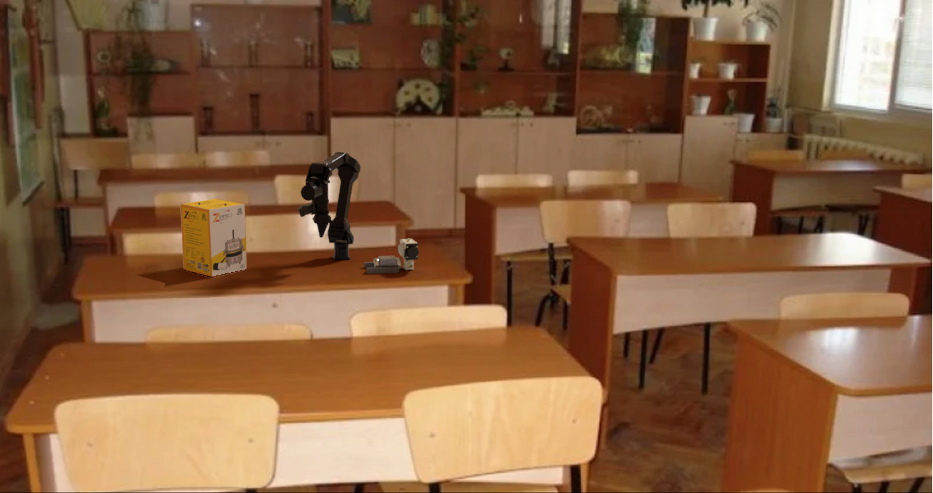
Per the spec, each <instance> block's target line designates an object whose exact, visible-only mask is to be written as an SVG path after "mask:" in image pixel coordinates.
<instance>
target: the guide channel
mask: <svg viewBox="0 0 933 493" xmlns="http://www.w3.org/2000/svg"><path fill="white" fill-rule="evenodd" d="M363 269H366V274H367V275H368V274H369V275H373V274H391V273H393V274H394V273H395V274H396V273H397V274H398V273H400V269H399V267H374V266H373V261H369V262H364V263H363Z"/></svg>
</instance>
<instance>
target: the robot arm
mask: <svg viewBox="0 0 933 493" xmlns="http://www.w3.org/2000/svg"><path fill="white" fill-rule="evenodd" d="M335 170H337V175H338V178H339V181H340V184H339V189H338V190H339V192H338V197H337V204H336V210H335V216H334V217H333V219H332V216H331V215H330V210H329V204H330V199H329V184H330V183H331V181H330V177H331V176H332V175H333V171H335ZM360 172H361V164H360V163H359V162H358V160H357V159H356V158H354V157H353V156H351V155H350V154H349V153H348V152H345V151H344V152H343V151H337V152H335V153H334V154H333V155H331V156H330V157H328V158H326V159H325V160H322V161H314V162H312V163H311V164H310V165H309V168H308V171H307V174H306V176H305V185H303V186H302V188H301V190H300V196H301V198H303V200H304V201H308V202H309V201H311V202H309V203H306V204H303V205H300V206H298V207H297V210H298V213H299V215H300V217H301V218H303V217H305V216H307V215H311V216H313V217H312V218H311V219H312V221H313V223H314V224H316V228H317V231H318V236H319V238H323V237H324V235H325V233H326V230H327V237H328V243H329V244H333V250H334V251H333V254H332V258H333V260H335V261H337V260H351V256H350V251H349V250H350V249H349V247H350V246H349V245H353V244H354V241H355V240H354V239H355V237H354V235H353V233H352V231H351V225H350V223H349V220H348V219H349V212H350V204H351V198H352V192H353V187H354V183H355V182H356V181H357V179H358V178H359V175H360ZM327 228H328V229H327Z"/></svg>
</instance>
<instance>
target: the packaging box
mask: <svg viewBox="0 0 933 493" xmlns="http://www.w3.org/2000/svg"><path fill="white" fill-rule="evenodd" d="M179 206H180V207H179V208H180V225H181V227H180V229H181V243H182V244H181V246H182V264H183V266H182V267H183V268H182V270H183V269H185V270H189V271H193V272H197V273H201V274H204V275H208V276H216V275H221V274H225V273H230V274H232V273H231V272H234V273H236V272H235V271H238V272H241V271H240V270H242V271H245V269H246V270H248V269H247V268H248V267H247V266H248V265H247V264H248V262H247V238H246V237H247V236H246V235H247V234H246V233H247V232H246V230H247V229H246V204H245V203H241V202H236V201H229V200H225V199H220V198H212V199H210V198H209V199H205V200H198V201H192V202H185V203H181V204H180V205H179Z"/></svg>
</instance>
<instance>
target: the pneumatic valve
mask: <svg viewBox="0 0 933 493" xmlns="http://www.w3.org/2000/svg"><path fill="white" fill-rule="evenodd" d="M397 252H398V253H399V257H402V258H403V260H402V262H403V266H402V268H403V269H404V270H405V271H409V270H412V271H413V270H414V269H415V267H414V265H415V264H414V263H415V261H417V260H419V254H420V251H419V243H418V242H417V241H415V240H414V239H413V238H409V237H408V238H399V243H398V244H397ZM414 260H415V261H414Z"/></svg>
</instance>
